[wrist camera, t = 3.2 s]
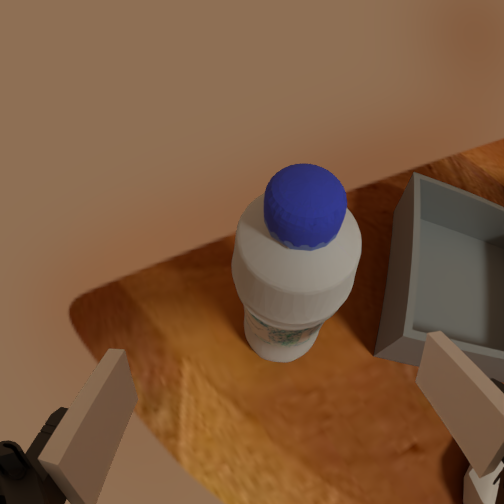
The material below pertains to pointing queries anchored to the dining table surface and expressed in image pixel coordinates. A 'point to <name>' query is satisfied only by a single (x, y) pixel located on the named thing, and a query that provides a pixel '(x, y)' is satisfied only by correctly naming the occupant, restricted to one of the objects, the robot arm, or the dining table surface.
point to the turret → (481, 487)
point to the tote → (445, 276)
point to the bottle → (294, 260)
